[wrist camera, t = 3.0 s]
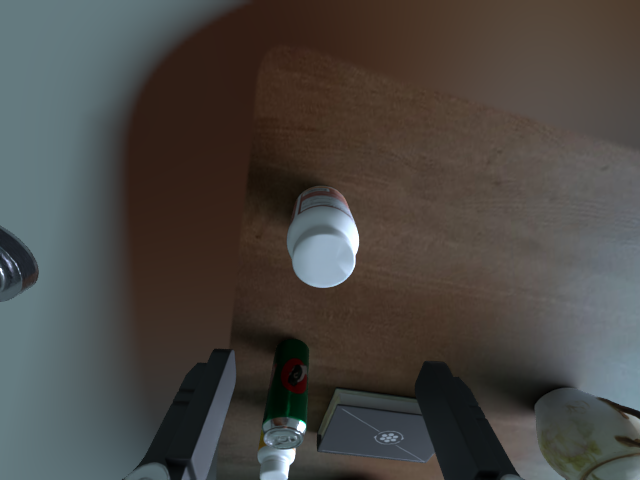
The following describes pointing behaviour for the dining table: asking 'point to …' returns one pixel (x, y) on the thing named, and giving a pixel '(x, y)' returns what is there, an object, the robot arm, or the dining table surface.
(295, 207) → the pill bottle
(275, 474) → the supplement bottle
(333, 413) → the book
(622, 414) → the sugar bowl
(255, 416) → the dining table surface
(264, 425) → the soda can
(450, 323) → the dining table surface
